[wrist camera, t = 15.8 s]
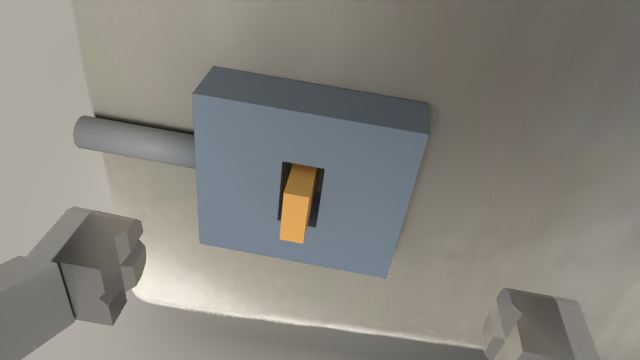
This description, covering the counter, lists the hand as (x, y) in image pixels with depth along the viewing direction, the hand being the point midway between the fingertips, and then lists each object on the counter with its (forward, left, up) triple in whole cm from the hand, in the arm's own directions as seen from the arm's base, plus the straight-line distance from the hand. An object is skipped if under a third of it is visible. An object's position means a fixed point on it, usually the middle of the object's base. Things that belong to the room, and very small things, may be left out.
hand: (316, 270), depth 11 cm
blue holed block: (+9, +18, -29) cm, 35 cm away
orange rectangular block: (+3, +18, -29) cm, 34 cm away
